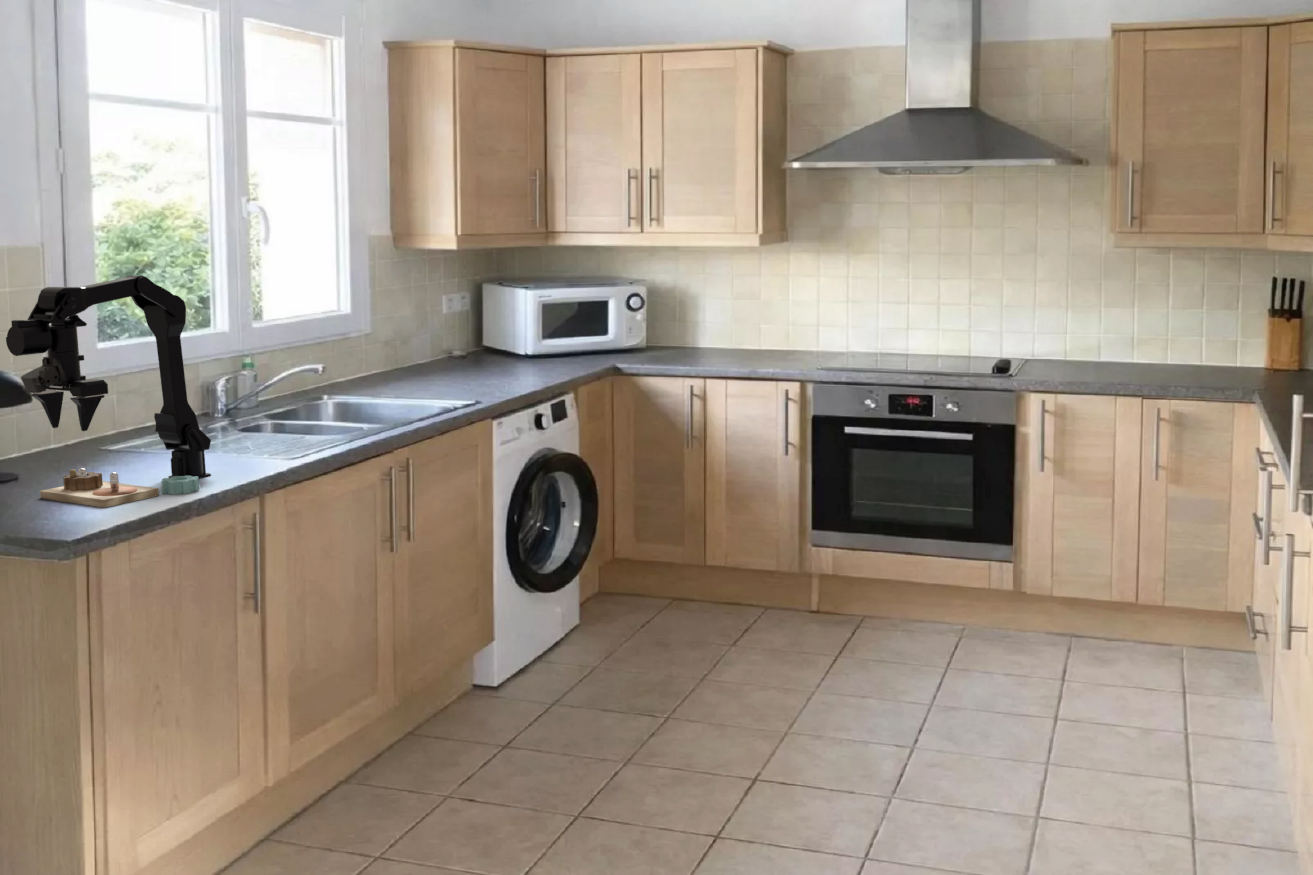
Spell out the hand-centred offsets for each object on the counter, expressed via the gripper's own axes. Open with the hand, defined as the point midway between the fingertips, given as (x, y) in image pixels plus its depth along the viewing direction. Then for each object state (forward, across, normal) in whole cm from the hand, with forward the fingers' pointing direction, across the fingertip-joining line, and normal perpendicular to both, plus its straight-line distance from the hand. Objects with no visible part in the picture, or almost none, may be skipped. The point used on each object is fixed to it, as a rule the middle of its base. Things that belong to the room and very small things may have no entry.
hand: (69, 429), depth 285 cm
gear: (+13, -4, +5) cm, 14 cm away
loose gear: (+14, +11, +17) cm, 25 cm away
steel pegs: (+13, +1, +5) cm, 14 cm away
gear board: (+14, +1, +5) cm, 15 cm away
